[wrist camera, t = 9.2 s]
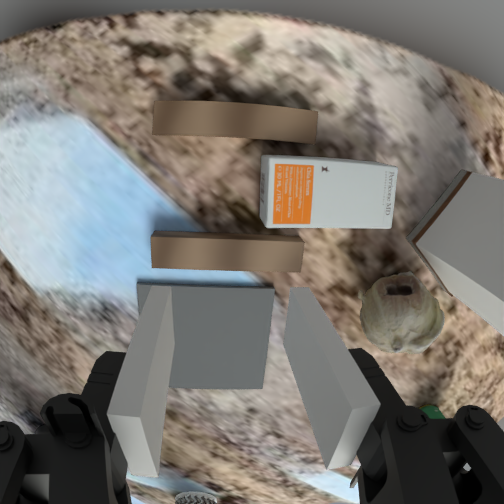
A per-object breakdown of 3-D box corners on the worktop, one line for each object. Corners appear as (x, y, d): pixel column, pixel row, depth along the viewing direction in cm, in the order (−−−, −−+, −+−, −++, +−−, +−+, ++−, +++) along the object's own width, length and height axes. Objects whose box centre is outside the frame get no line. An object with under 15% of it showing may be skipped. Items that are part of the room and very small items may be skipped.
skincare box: (267, 156, 24) (399, 164, 25) (259, 154, 28) (377, 160, 29) (265, 231, 26) (392, 229, 27) (258, 218, 30) (372, 218, 31)
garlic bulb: (423, 290, 35) (470, 331, 26) (376, 338, 37) (413, 389, 27) (385, 242, 32) (438, 280, 23) (331, 298, 34) (368, 351, 24)
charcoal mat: (149, 383, 35) (149, 385, 35) (137, 282, 31) (136, 284, 30) (261, 386, 37) (262, 388, 37) (273, 286, 32) (274, 288, 32)
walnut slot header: (155, 260, 30) (151, 267, 28) (158, 103, 25) (154, 100, 23) (295, 264, 32) (300, 272, 30) (311, 113, 27) (318, 111, 25)
